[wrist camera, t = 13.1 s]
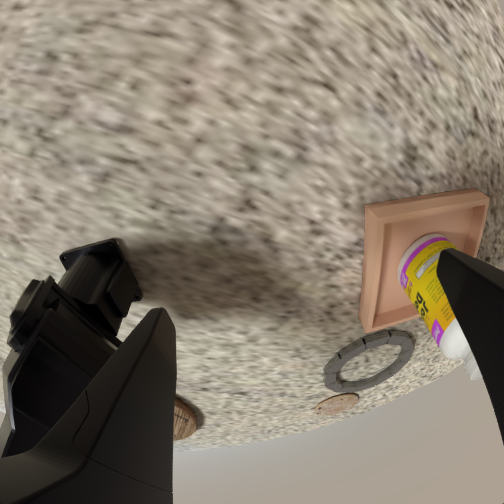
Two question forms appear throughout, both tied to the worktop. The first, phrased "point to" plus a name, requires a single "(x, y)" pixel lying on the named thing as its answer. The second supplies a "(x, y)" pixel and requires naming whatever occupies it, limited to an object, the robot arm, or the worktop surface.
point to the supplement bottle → (434, 299)
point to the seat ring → (361, 346)
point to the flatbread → (336, 405)
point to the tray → (402, 237)
